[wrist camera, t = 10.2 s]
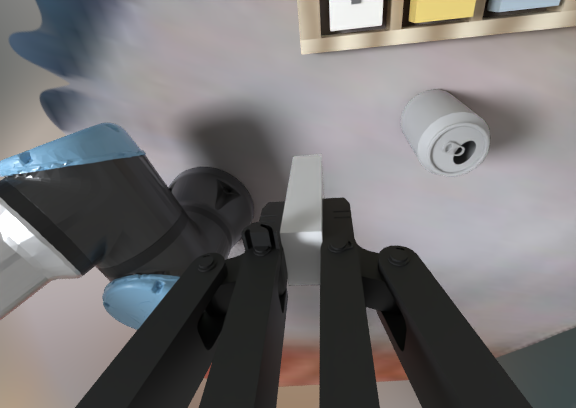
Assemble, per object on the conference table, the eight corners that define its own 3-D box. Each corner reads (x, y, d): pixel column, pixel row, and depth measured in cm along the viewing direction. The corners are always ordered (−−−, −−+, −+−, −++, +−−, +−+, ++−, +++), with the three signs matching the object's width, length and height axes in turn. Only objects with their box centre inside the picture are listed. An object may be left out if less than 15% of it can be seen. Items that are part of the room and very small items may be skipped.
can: (435, 148, 45) (466, 191, 36) (389, 130, 45) (407, 169, 35) (469, 100, 41) (514, 132, 31) (418, 78, 41) (448, 106, 31)
